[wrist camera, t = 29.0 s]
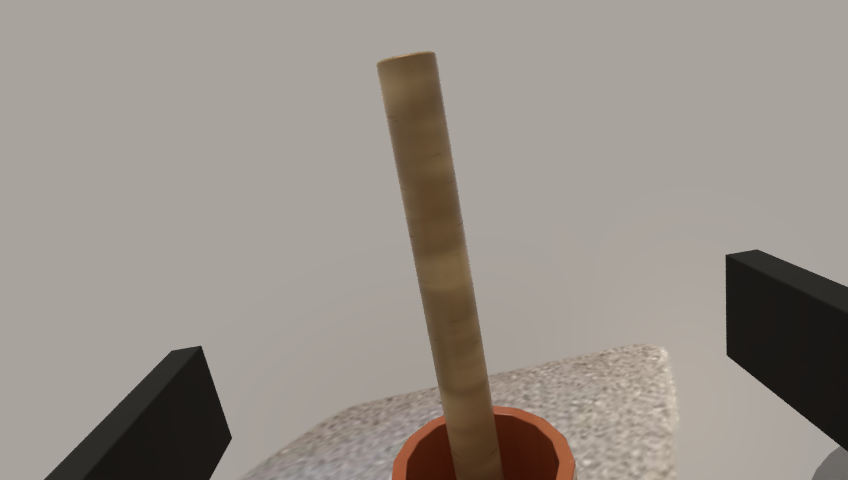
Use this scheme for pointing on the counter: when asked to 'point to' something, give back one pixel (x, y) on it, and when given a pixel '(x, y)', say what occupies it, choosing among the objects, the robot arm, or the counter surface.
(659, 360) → the counter surface
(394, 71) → the stirring stick
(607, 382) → the counter surface
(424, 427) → the utensil cup
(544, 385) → the counter surface
